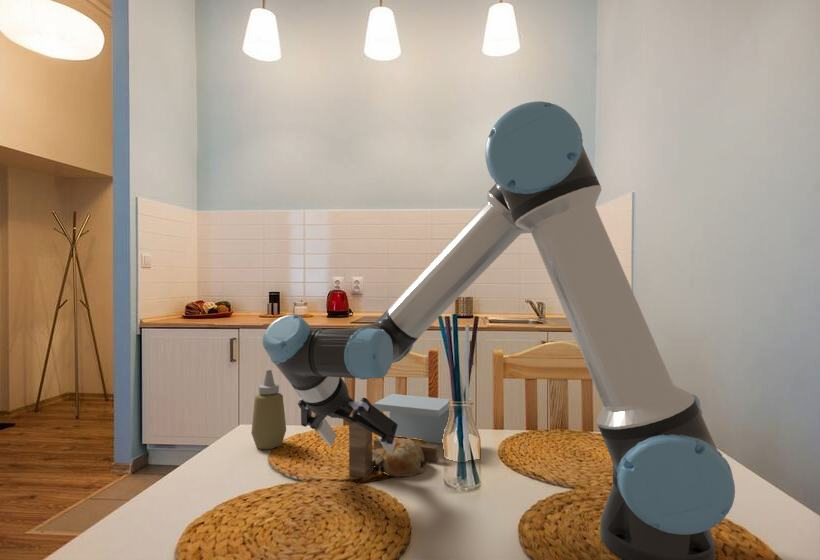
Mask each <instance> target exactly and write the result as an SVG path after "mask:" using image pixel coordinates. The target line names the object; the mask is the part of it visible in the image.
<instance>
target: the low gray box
mask: <svg viewBox="0 0 820 560" xmlns="http://www.w3.org/2000/svg"><path fill="white" fill-rule="evenodd" d="M449 400H450V398H449V399H448V398H439V397H432V396H431V397H430V396H420V395H409V394H408V395H407V394H406V395H405V394H399V393H398V394H397V393H391V394H388V395H387V396H385V397H383V398H381V399H379V400H378V401H376V402H374V403H373V406H374V407H375V408H377V409H378V410H379V411H381V412H388V413H389V418H390V419H391V420H393V421H394V422H395V423H396V424H398V426H397V430H396V433H395V436H401V437H408V438H417V439H422V440H424V441H423V442H429V443H437V444H443V443H442V439H443V434H444V429H445V427H446V425H447V422H448V417H449V406H448V401H449Z"/></svg>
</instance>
